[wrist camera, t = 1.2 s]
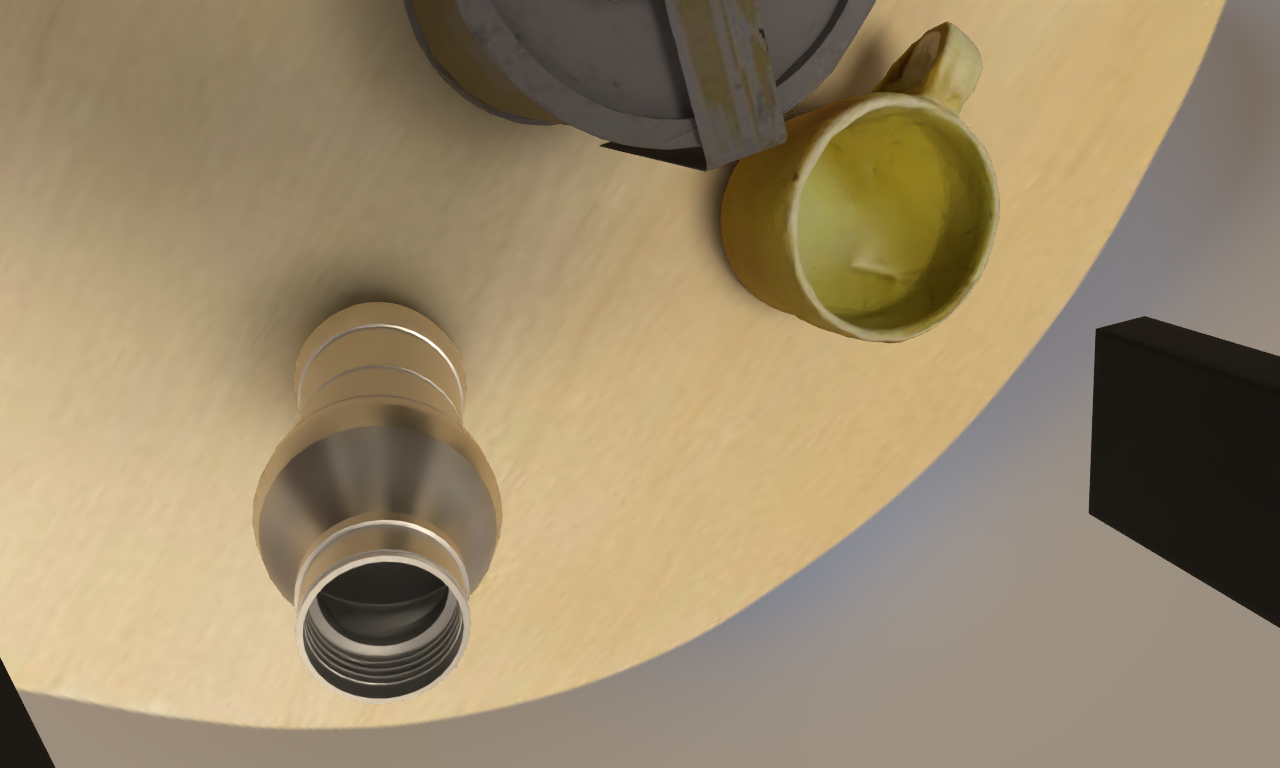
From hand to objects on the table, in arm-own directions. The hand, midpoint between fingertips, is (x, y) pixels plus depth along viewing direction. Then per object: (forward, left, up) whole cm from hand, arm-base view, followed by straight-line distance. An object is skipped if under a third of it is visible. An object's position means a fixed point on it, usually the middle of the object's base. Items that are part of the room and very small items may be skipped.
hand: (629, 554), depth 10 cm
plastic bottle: (+4, -5, -28) cm, 29 cm away
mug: (+6, +16, -28) cm, 33 cm away
